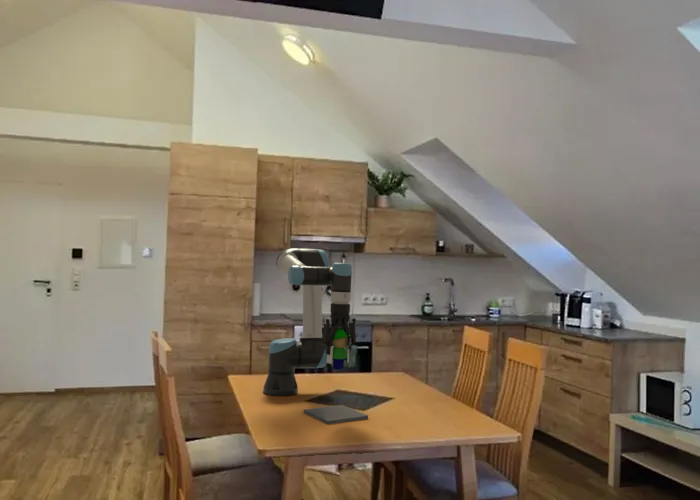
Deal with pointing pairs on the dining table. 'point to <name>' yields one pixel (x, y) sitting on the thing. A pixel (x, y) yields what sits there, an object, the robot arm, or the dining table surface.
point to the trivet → (335, 414)
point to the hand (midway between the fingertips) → (337, 362)
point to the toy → (340, 348)
